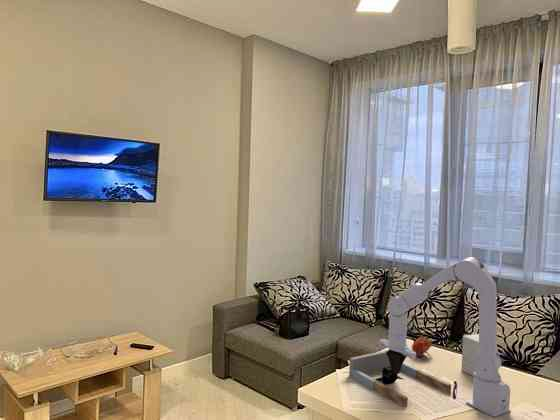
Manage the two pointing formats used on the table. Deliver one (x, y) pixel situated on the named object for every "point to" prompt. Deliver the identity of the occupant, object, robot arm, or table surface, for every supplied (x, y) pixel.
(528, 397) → the table surface
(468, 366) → the supplement box
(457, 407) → the table surface
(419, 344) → the pomegranate
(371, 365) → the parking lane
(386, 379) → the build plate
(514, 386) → the table surface
